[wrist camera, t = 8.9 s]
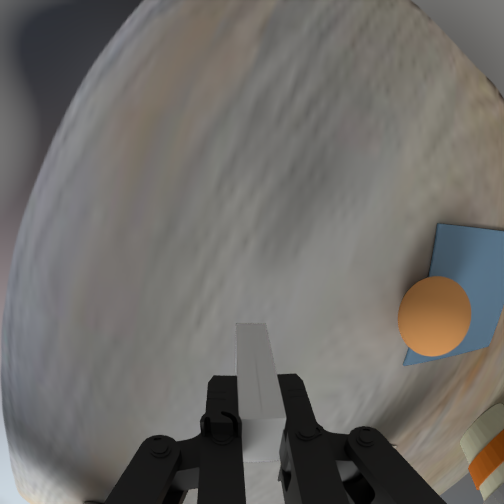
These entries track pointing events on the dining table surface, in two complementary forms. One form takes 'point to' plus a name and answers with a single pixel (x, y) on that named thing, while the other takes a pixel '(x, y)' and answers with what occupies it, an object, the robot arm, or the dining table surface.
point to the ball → (434, 316)
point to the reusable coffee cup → (487, 454)
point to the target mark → (470, 281)
